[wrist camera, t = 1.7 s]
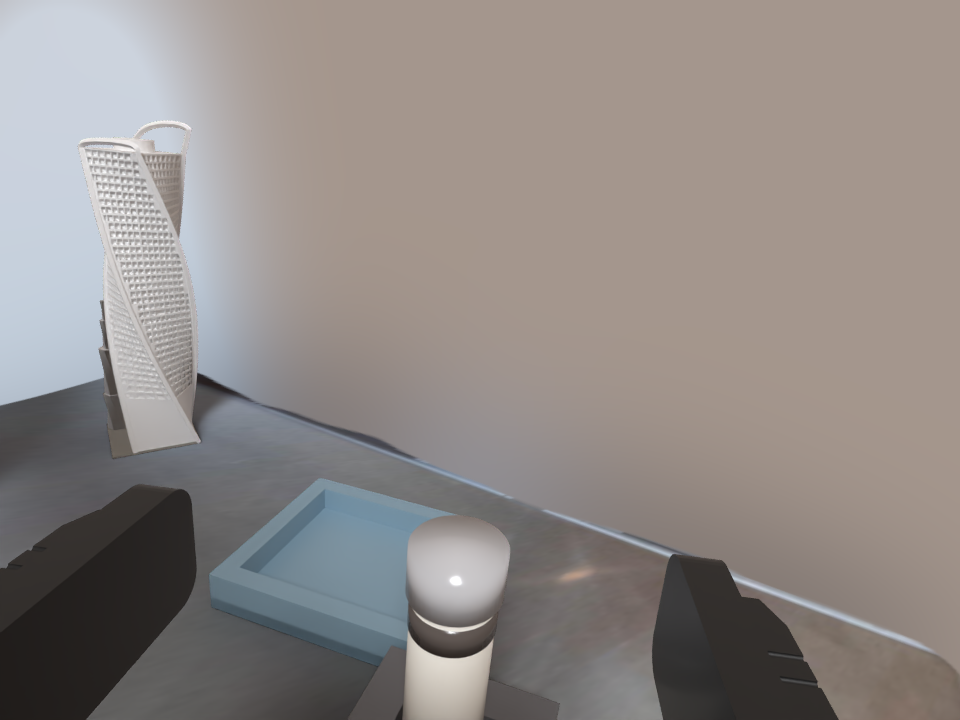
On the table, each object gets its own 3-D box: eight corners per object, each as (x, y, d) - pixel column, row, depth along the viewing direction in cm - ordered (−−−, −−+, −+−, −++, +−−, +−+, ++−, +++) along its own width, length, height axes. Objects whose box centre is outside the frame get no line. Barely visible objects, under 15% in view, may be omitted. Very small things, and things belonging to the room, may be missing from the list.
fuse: (377, 827, 25) (390, 563, 20) (413, 748, 29) (431, 506, 24) (460, 863, 24) (493, 594, 19) (487, 777, 28) (521, 530, 23)
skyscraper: (203, 412, 60) (180, 121, 51) (220, 447, 54) (198, 123, 44) (107, 427, 56) (62, 110, 46) (114, 468, 49) (64, 110, 40)
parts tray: (211, 607, 36) (208, 574, 35) (319, 504, 47) (319, 477, 46) (421, 682, 32) (424, 647, 31) (486, 552, 43) (489, 523, 42)
